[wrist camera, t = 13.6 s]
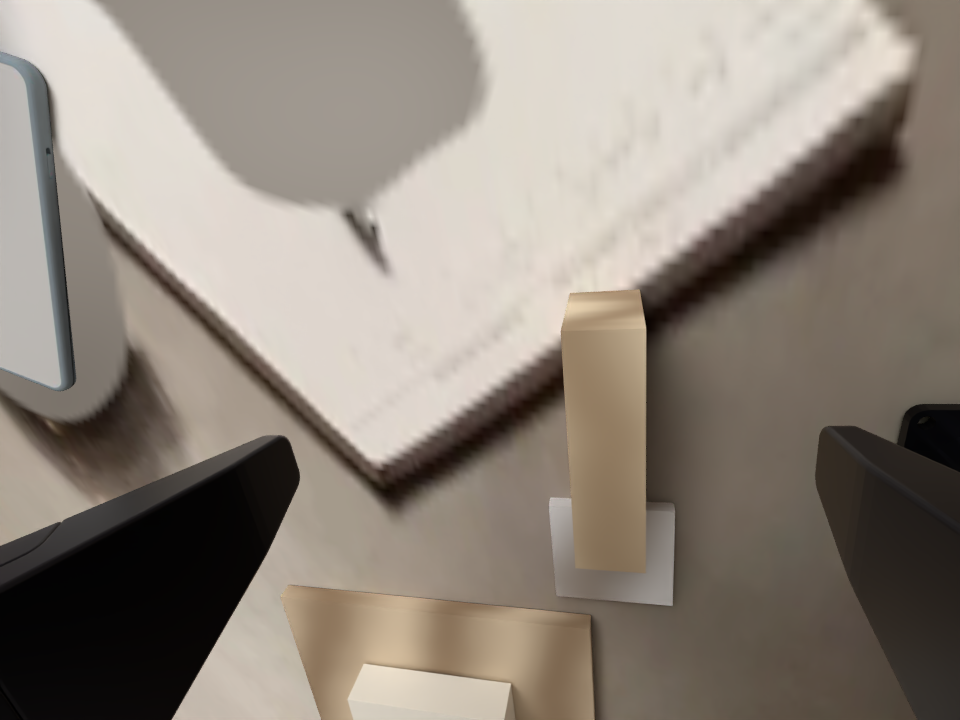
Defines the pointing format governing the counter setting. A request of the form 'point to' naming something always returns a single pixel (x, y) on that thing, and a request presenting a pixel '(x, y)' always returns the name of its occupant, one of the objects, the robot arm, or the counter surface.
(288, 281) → the counter surface
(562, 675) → the tan flat board
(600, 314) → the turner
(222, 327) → the counter surface
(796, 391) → the counter surface
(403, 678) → the tile
